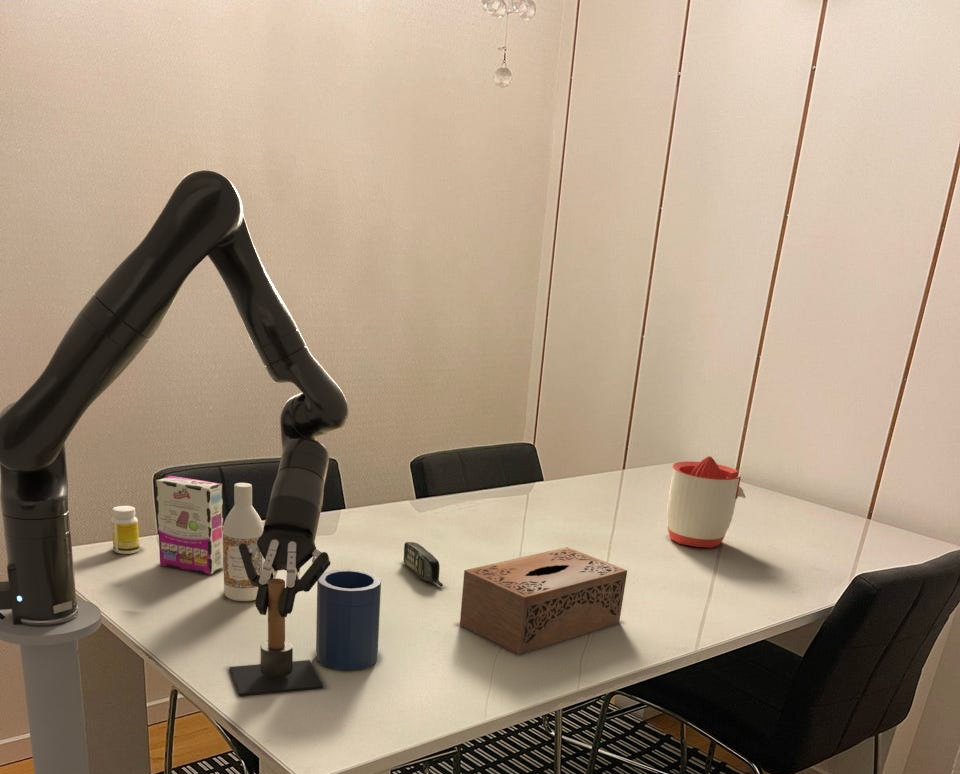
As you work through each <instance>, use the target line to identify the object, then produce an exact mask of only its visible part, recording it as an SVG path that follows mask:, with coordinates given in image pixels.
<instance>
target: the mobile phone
mask: <svg viewBox="0 0 960 774" xmlns="http://www.w3.org/2000/svg"><path fill="white" fill-rule="evenodd" d="M403 564H405V565H406V566H407V567H408V568H409V569H410V570H412V571H413V573H415V574H416V575H417V576H418V577H419V578H420V579H421V580H423V581H425V582H427V583H435V584H436V585H437V586H439V587H440V588H441V587H442V588H443V586H444V584H443V583H442V582H441V581H440V561H439V560H438V559H437V558H436V557H435V556H434V555H433V553H431V552H430V551H429V550H427V549H426V548H425V547H424V546H422V545H420V544H419V543H418V542H414V541H406V542H404V545H403Z"/></svg>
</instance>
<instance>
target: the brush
mask: <svg viewBox="0 0 960 774" xmlns="http://www.w3.org/2000/svg"><path fill="white" fill-rule="evenodd" d="M284 588H286V580H284V579H283V578H278V577H276V578H274V579H270V580H268V608H267V640H265V641H263V642H262V643H261V644H260V649H259V650H260V651H259V654H260V655H259V656H260V659H259V660H260V661H259V662H260V664H261V673H262V674H264V675H266V676H269V677H284V676H287V675H289V674H291V673H292V671H293V662H294V660H293V659H294V658H293V655H294V654H293V653H294V651H293V650H294V649H293V644H292V643H291V642H290V641H288V640H286V617H281V615H280V613H279V608H280V604H281V599H282V594H283V589H284Z"/></svg>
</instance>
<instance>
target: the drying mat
mask: <svg viewBox="0 0 960 774" xmlns="http://www.w3.org/2000/svg"><path fill="white" fill-rule="evenodd" d="M229 671H230V673H231V676H232V679H233V682H234V685H235V687H236V690H237V693H238V695H239V697H246V696H255V695H265V694H266V695H267V694H277V693H278V694H279V693H287V692H288V693H289V692H298V691H307V690H308V691H309V690H317V689H319V690H320V689H324V683H322V681H321V679H320V677H319V675H318V673H317V671H316V669H315V668H314V665H313V664H312V662H311V660H310V659H307V660H296V661H294V660H293V671H292V673H291V674H289V675H287V676H284V677H269V676H266V675H264V674H262V673H261V663H260V664H248V665H235V666H229Z"/></svg>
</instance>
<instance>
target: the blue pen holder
mask: <svg viewBox="0 0 960 774" xmlns="http://www.w3.org/2000/svg"><path fill="white" fill-rule="evenodd" d="M316 583H317V585H316V627H315V629H316V633H315V635H316V636H315V637H316V638H315V652H316V654H315V655H316V656H315V657H316V660H317V662H318V663H319V664H320V665H322V666H324V667H326V668H328V669H331V670H337V671H346V672H348V671H351V672H352V671H361V670H365V669H367V668H370V667H372V666H373V665H375V664H376V662H377V661H378V652H379V637H380V617H381V616H380V615H381V596H382V594H381V593H382V592H381V591H382V579H381V578H380V576H378V575H376V574H374V573H372V572H369V571H365V570H360V569H351V568H342V569H340V568H339V569H333V570H328V571H327V570H326V571H325V572H324V573H323V574H322V576H321V577H320V578H319V579H318V581H317V582H316Z"/></svg>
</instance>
